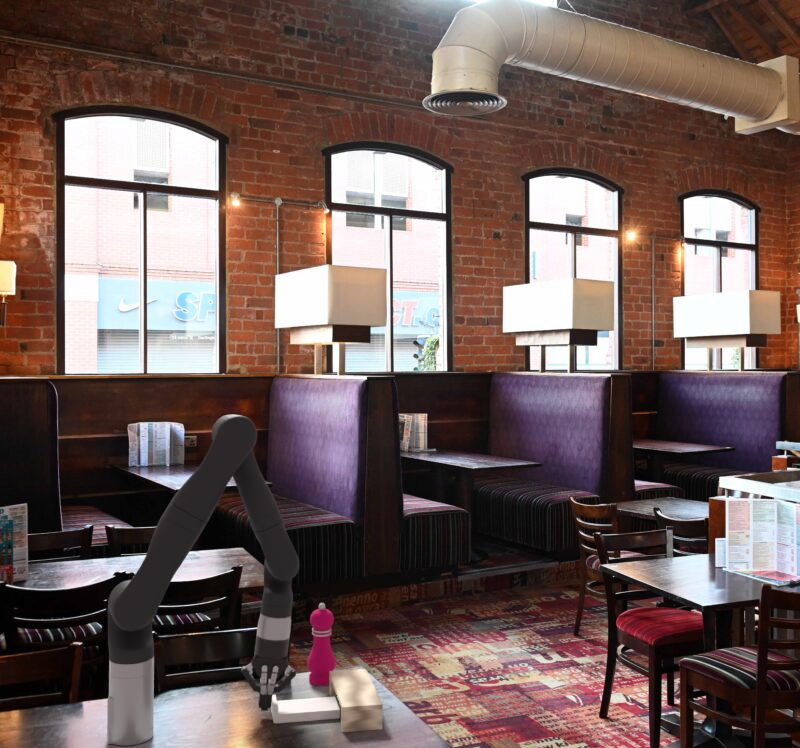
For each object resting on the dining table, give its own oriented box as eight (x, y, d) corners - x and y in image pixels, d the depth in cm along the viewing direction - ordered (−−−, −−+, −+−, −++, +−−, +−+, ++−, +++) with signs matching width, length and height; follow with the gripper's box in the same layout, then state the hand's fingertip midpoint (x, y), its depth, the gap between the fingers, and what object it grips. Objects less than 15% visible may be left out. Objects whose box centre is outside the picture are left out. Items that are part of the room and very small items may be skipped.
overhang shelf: (342, 732, 192) (342, 707, 192) (329, 693, 215) (329, 671, 215) (382, 729, 194) (382, 704, 194) (365, 691, 216) (365, 668, 216)
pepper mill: (341, 681, 223) (342, 603, 223) (320, 688, 218) (320, 608, 217) (322, 674, 228) (323, 597, 228) (301, 681, 223) (301, 603, 222)
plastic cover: (273, 723, 196) (273, 708, 196) (271, 709, 204) (271, 694, 204) (339, 718, 200) (340, 703, 200) (334, 704, 207) (335, 690, 207)
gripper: (244, 637, 195) (235, 714, 195) (303, 640, 198) (294, 717, 198) (243, 627, 203) (234, 702, 202) (300, 630, 205) (291, 704, 205)
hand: (264, 709), depth 200 cm, fingers closed
